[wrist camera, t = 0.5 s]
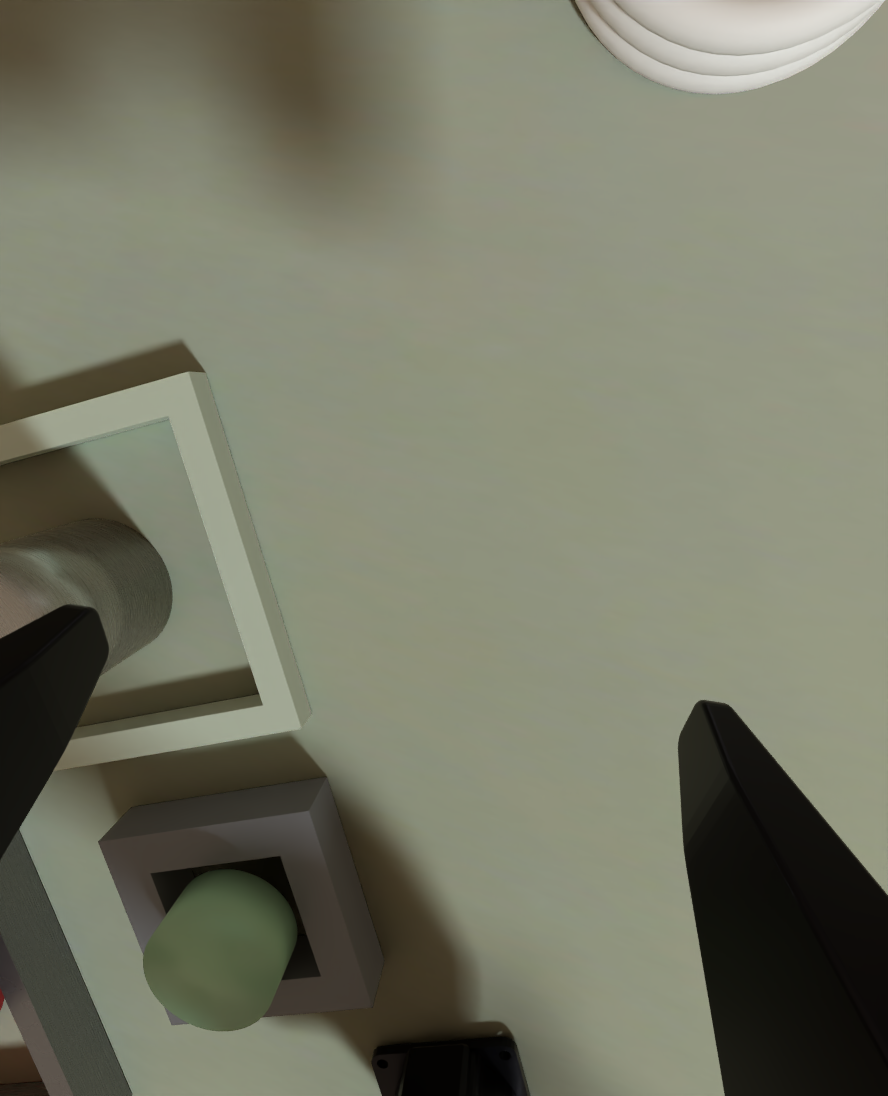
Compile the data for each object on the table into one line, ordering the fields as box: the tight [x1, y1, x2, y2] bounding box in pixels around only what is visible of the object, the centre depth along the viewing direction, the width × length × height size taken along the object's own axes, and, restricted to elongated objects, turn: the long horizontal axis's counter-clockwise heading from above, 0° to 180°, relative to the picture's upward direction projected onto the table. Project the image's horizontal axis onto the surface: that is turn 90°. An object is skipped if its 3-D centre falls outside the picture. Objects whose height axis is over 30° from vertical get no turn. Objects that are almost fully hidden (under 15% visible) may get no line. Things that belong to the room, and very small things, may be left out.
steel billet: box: [0, 519, 172, 676], centre depth 21 cm, size 6×6×9 cm
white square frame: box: [0, 372, 312, 771], centre depth 25 cm, size 13×13×1 cm
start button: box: [143, 869, 298, 1031], centre depth 24 cm, size 5×5×2 cm
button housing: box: [98, 777, 384, 1025], centre depth 27 cm, size 9×9×2 cm
